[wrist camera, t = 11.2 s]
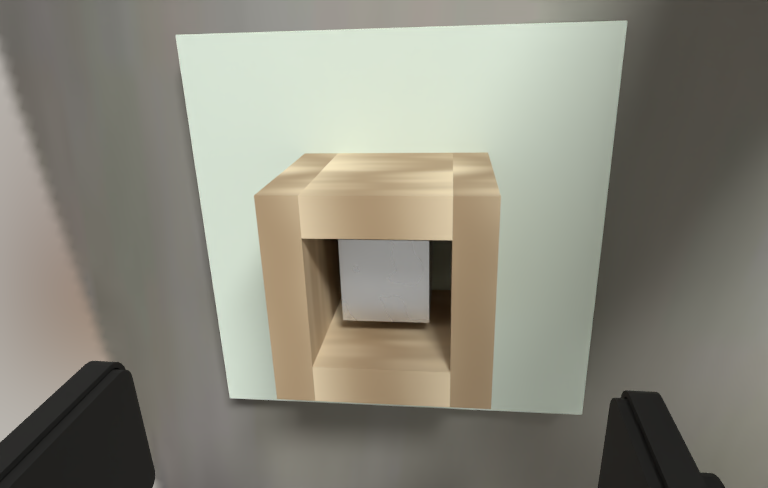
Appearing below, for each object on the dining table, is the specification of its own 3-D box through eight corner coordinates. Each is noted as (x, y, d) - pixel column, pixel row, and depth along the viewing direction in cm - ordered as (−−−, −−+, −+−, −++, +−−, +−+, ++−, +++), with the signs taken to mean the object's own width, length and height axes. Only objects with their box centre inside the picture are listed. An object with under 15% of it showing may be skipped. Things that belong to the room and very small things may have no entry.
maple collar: (487, 152, 21) (500, 196, 15) (481, 318, 23) (491, 409, 18) (305, 153, 22) (253, 195, 16) (317, 314, 24) (277, 399, 19)
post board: (615, 21, 20) (671, 17, 15) (574, 394, 26) (605, 483, 21) (192, 34, 22) (114, 35, 17) (241, 379, 28) (193, 458, 23)
